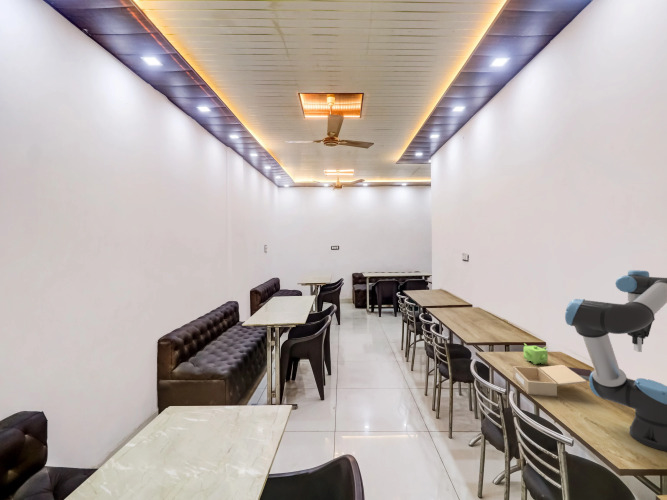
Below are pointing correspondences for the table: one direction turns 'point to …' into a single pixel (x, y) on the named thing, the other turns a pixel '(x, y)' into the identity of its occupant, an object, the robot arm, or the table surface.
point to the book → (581, 372)
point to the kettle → (535, 354)
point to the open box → (535, 381)
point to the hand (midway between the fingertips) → (637, 350)
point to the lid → (562, 375)
